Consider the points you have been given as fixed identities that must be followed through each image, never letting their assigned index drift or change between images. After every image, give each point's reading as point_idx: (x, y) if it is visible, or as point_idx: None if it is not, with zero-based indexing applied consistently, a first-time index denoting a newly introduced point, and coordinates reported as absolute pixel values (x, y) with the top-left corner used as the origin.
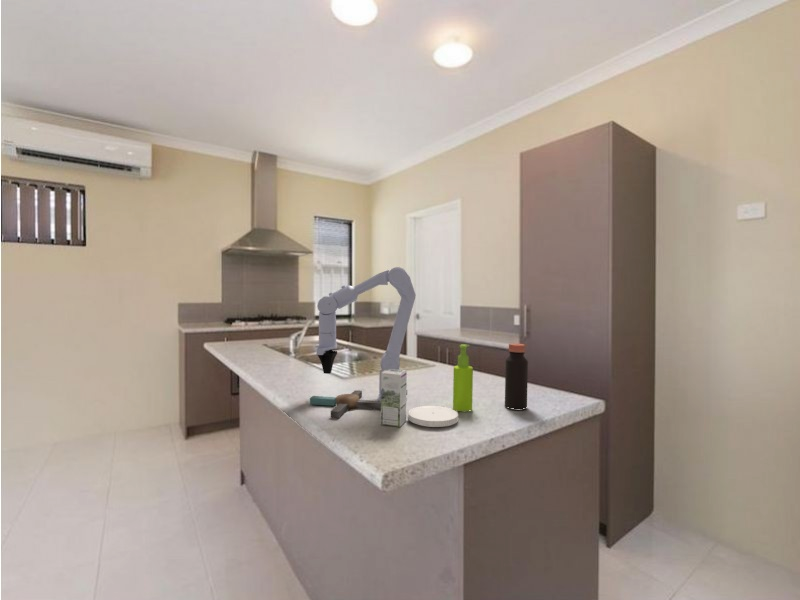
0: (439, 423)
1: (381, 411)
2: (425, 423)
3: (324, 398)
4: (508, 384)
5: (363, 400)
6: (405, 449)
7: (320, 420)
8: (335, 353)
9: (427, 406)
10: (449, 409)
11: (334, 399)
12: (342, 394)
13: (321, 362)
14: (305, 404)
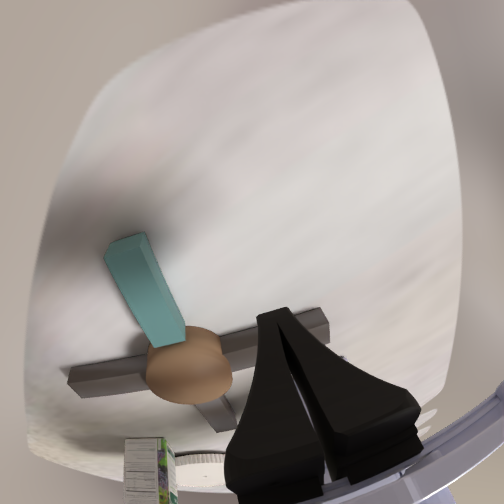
0: None
1: (124, 462)
2: None
3: (139, 314)
4: None
5: (213, 400)
6: (82, 462)
7: (43, 355)
8: (332, 481)
9: None
10: None
11: (158, 345)
12: (207, 356)
13: (251, 387)
14: (109, 215)
